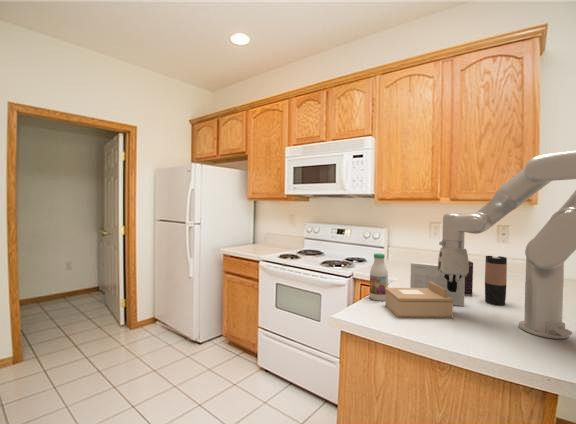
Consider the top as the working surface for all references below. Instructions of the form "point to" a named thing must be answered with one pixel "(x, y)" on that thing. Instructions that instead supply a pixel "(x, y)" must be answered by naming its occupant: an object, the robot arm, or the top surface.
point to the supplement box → (469, 281)
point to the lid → (421, 293)
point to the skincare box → (435, 280)
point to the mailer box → (419, 308)
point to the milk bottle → (378, 278)
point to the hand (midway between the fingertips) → (451, 291)
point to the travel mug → (495, 280)
